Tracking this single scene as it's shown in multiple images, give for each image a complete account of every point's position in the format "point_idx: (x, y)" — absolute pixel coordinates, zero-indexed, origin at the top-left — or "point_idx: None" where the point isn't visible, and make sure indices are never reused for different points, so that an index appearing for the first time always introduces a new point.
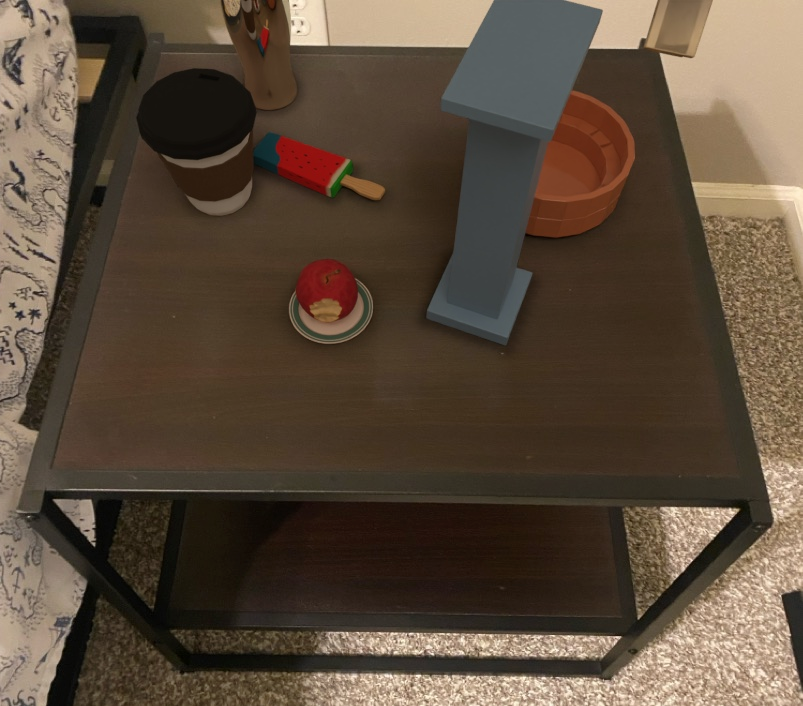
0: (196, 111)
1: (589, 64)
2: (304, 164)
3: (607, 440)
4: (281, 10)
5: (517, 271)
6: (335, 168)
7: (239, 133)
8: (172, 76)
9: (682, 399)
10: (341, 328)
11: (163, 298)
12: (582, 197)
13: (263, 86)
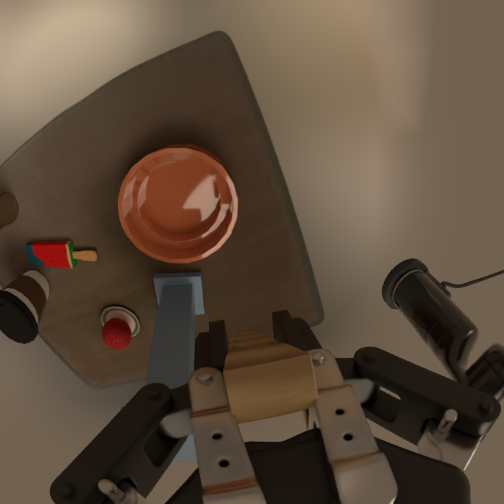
0: (14, 326)
1: (176, 58)
2: (52, 259)
3: (263, 327)
4: None
5: (192, 278)
6: (65, 254)
7: (34, 325)
8: None
9: (293, 299)
10: (130, 328)
11: (64, 336)
12: (212, 250)
13: (4, 226)
